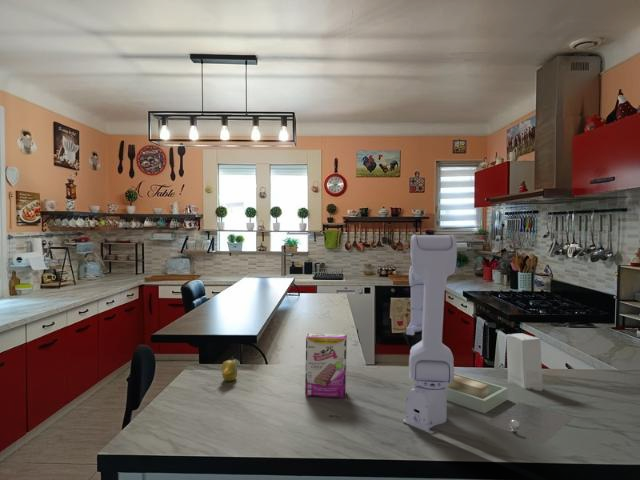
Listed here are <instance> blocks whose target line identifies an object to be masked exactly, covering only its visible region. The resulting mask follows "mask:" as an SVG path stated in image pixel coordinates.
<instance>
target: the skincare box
mask: <svg viewBox="0 0 640 480" xmlns="http://www.w3.org/2000/svg"><path fill="white" fill-rule="evenodd" d="M541 346H542V345H541V338H540V337H536V336H532V335H530V334H529V335H528V334H525V333H522V332H521V333H520V332H519V333H508V334H506V359H507V360H506V363H507V383H508V384H512V385H516V386H518V387H521V388H522V389H524V390H529V389H530V390H534V391H538V392H543V388H544V387H543V370H542V366H543V365H542V349H541V348H542V347H541Z"/></svg>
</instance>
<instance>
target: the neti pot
mask: <svg viewBox="0 0 640 480" xmlns="http://www.w3.org/2000/svg"><path fill="white" fill-rule="evenodd" d="M220 369H221V372H222V378H223V380H224V381H226V382H233V381H234V380H235V379H236V378H237V376H238V368H237V364H236V359H233V360H225V361H223V362H222V364H221V368H220Z"/></svg>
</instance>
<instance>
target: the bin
mask: <svg viewBox="0 0 640 480" xmlns="http://www.w3.org/2000/svg"><path fill="white" fill-rule="evenodd" d="M454 375H456V376H460V377H463V378H466V379H470V380H473V381H477V382H480V383H483V384H487V385H488V397H486V398H484V399H481V398H478V397H475V396H472V395H469V394H466V393H462V392H459V391H456V390H453V389H450V388H447V402H450V403H454V404H456V405H459V406H462V407H465V408H467V409H470V410H474V411H476V412H480V413H482V414H486V413H488V412H489V411H492V410H493V409H495V408H496V407H499V406H500V405H501V404H503V403H504V402H507V401H508V400H509V398H508V397H509V395H508V394H509V389H508V388H509V387H505V386H501V385H498V384H495V383H491V382H488V381H483V380H480V379H476V378H473V377H470V376H466V375H462V374H459V373H455V372H454Z"/></svg>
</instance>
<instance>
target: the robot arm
mask: <svg viewBox="0 0 640 480" xmlns="http://www.w3.org/2000/svg"><path fill="white" fill-rule="evenodd" d="M457 242H458V241H457V238H456V237H455V236H454V235H453V234H449V235H447V234H445V235H444V234H441V235H439V234H433V235H432V234H425V235H424V234H419V235H418V234H414V233H413V234H412V236H411V237H410V243H409V246H410V247H409V253H410V259H411V265H410V266H409V270H408V282H409V283H408V284H409V287H410V322H409V323H408V326H406V330H405V332H403V338H404V339H405V342H406V343H407V347H408V351H409V357H408V375H409V376H408V377H409V380H410V381H411V382H412V383H413V382H414V385H413V387H412V388H411V389H410V390H409V391H408V392H407V393H406V394H407V395H406V398H405V399H406V400H405V401H406V402H405V404H406V405H405V409H406V411H405V414H406V415H405V418H403V419H402V421H403V423H405V424H407V425H409V426H412V427H415V428H417V429H419V430H422V432H423V431H424V432H426V433H428V434H431V435H432V434H435V433H437V431H436V430H434V429H432V428H433V427H435V426H437V425H442V424H445V422H447V409H448V408H447V407H448V405H447V403H448V401H447V388H448V383H450V384H451V383H452V381H453V380H454V373H455V365H454V363H455V361H454V355H453V353H452V351H451V349H450V348H449V347H448V346H447V345H445V344H444V343H443V326H444V325H443V324H444V306H445V292H446V291H445V290H446V284H447V279H448V277H450V276H451V275H453V274H455V273H456V272H455V271H456V268H457V256H458V243H457Z"/></svg>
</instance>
